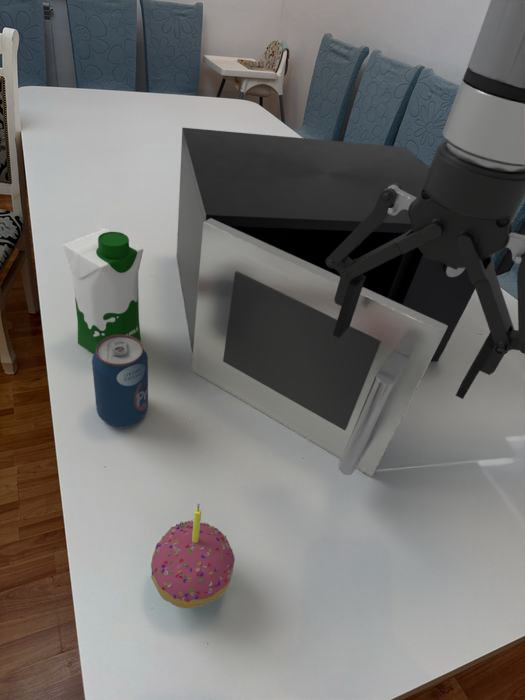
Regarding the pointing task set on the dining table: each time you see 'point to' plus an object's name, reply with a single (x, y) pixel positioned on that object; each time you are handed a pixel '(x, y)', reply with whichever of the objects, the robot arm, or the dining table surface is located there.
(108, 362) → the soda can
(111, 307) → the milk carton
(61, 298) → the dining table surface
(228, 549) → the cupcake
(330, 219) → the microwave
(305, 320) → the microwave door
